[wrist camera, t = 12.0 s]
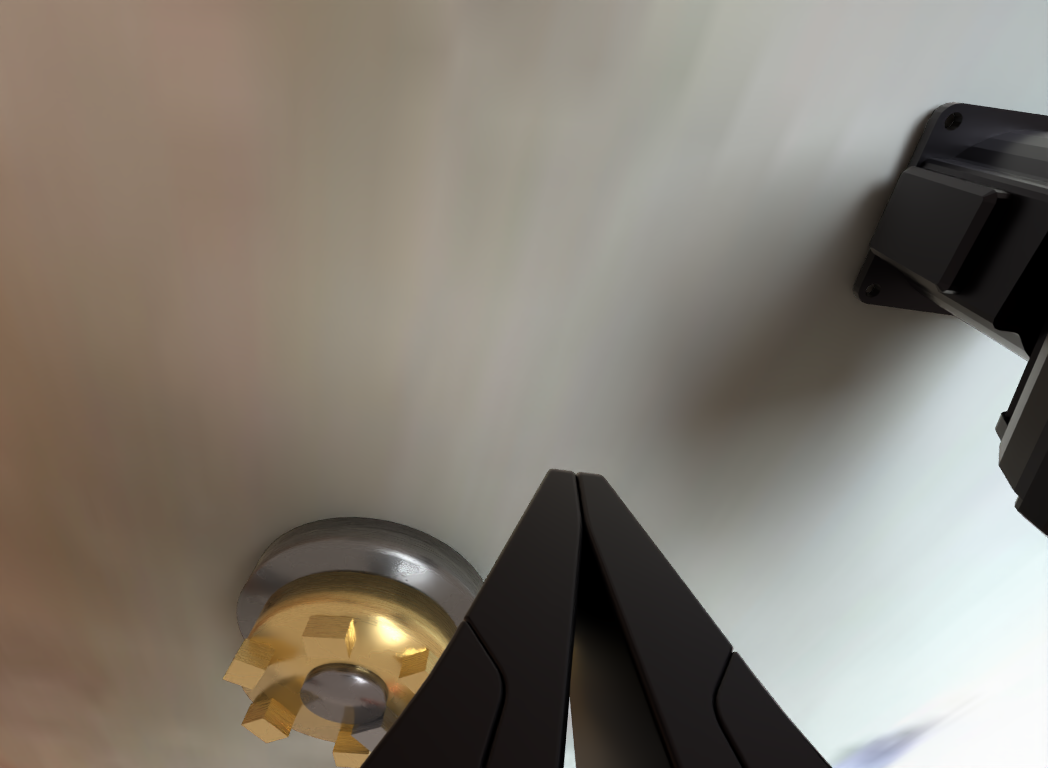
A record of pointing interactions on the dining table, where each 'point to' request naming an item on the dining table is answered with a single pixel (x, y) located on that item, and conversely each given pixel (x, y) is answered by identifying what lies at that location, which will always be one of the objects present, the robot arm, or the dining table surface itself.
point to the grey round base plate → (361, 563)
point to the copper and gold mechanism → (338, 659)
